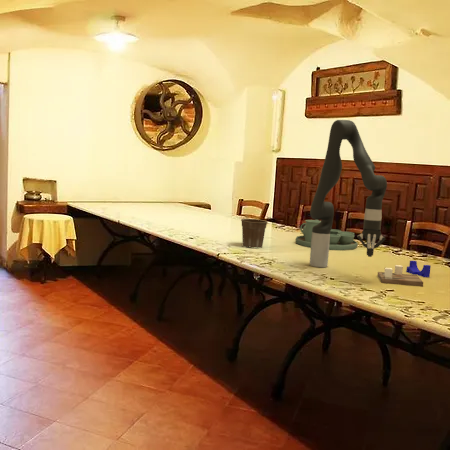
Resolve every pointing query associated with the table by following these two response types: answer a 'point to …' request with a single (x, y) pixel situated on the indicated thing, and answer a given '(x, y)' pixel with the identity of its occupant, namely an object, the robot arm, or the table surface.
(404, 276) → the switch board
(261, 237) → the plant pot
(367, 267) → the table surface
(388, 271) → the tab
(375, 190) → the robot arm
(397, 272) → the tab
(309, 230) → the green tea tray
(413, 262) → the cable clip
